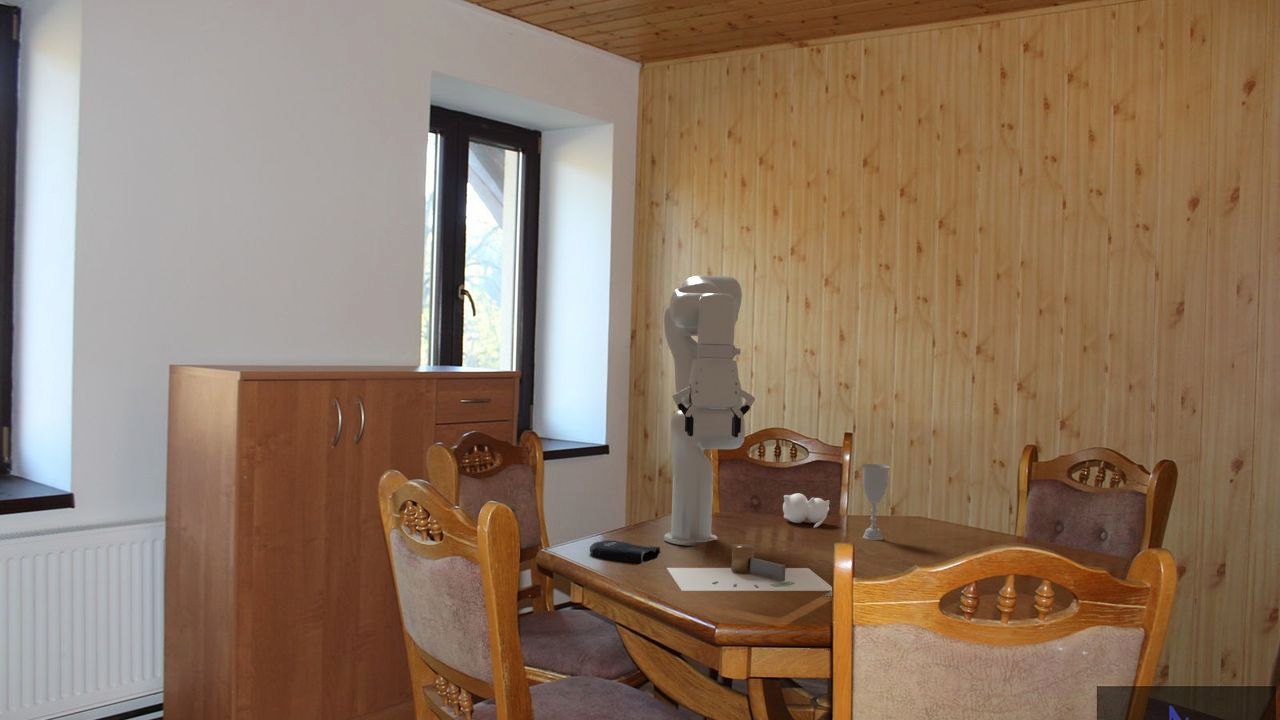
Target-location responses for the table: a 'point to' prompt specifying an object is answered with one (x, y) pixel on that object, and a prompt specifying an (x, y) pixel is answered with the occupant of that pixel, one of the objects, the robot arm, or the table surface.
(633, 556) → the electronic device
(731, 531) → the table surface
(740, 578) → the dial board
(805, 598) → the table surface
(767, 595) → the table surface
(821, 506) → the cat figurine
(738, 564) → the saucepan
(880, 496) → the chalice
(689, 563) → the table surface
